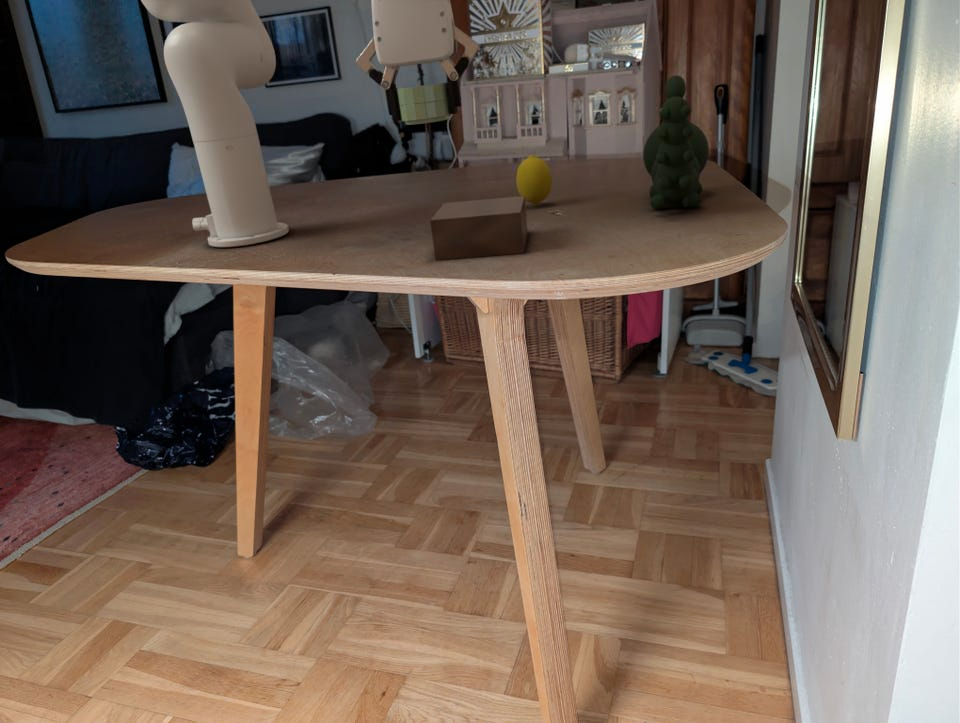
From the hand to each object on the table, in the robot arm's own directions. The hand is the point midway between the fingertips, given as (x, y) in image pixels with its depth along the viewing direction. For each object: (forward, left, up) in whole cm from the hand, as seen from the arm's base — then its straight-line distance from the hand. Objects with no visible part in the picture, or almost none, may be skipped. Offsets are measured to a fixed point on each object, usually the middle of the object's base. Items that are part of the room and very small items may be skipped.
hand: (426, 116), depth 93 cm
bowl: (0, 0, -1) cm, 1 cm away
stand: (+7, -8, -16) cm, 19 cm away
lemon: (+13, +16, -16) cm, 26 cm away
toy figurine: (+34, +9, -16) cm, 38 cm away
